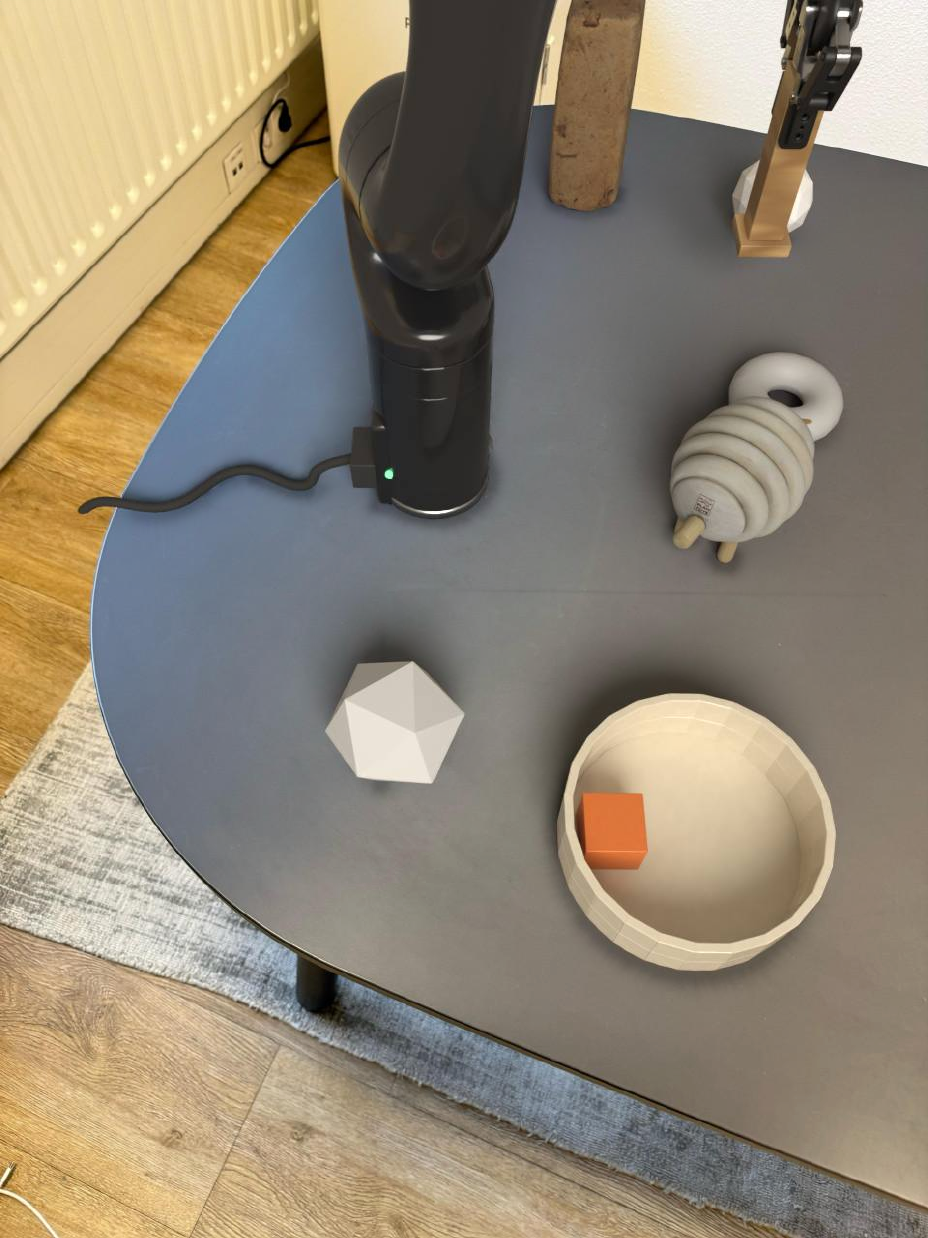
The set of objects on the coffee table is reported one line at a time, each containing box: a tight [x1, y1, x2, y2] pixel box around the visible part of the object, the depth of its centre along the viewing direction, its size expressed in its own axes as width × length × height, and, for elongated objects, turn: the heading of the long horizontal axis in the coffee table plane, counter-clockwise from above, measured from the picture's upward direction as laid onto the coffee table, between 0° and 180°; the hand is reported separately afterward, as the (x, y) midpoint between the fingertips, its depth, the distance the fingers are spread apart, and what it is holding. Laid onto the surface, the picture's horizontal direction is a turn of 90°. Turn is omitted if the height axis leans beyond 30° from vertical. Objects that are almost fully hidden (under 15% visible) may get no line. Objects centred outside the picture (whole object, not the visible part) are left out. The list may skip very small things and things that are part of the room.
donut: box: [728, 351, 844, 442], centre depth 86 cm, size 10×4×10 cm
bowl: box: [556, 692, 837, 972], centre depth 65 cm, size 17×17×6 cm
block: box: [548, 0, 647, 212], centre depth 95 cm, size 11×8×20 cm
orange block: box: [576, 793, 648, 870], centre depth 65 cm, size 4×4×4 cm
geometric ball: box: [731, 159, 814, 234], centre depth 97 cm, size 8×8×8 cm
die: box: [324, 660, 466, 785], centre depth 67 cm, size 8×9×10 cm
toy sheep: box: [669, 396, 816, 563], centre depth 76 cm, size 11×17×11 cm, turn 146°
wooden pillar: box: [731, 60, 825, 258], centre depth 79 cm, size 4×4×15 cm
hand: (787, 131), depth 77 cm, fingers closed on wooden pillar, 3 cm apart
